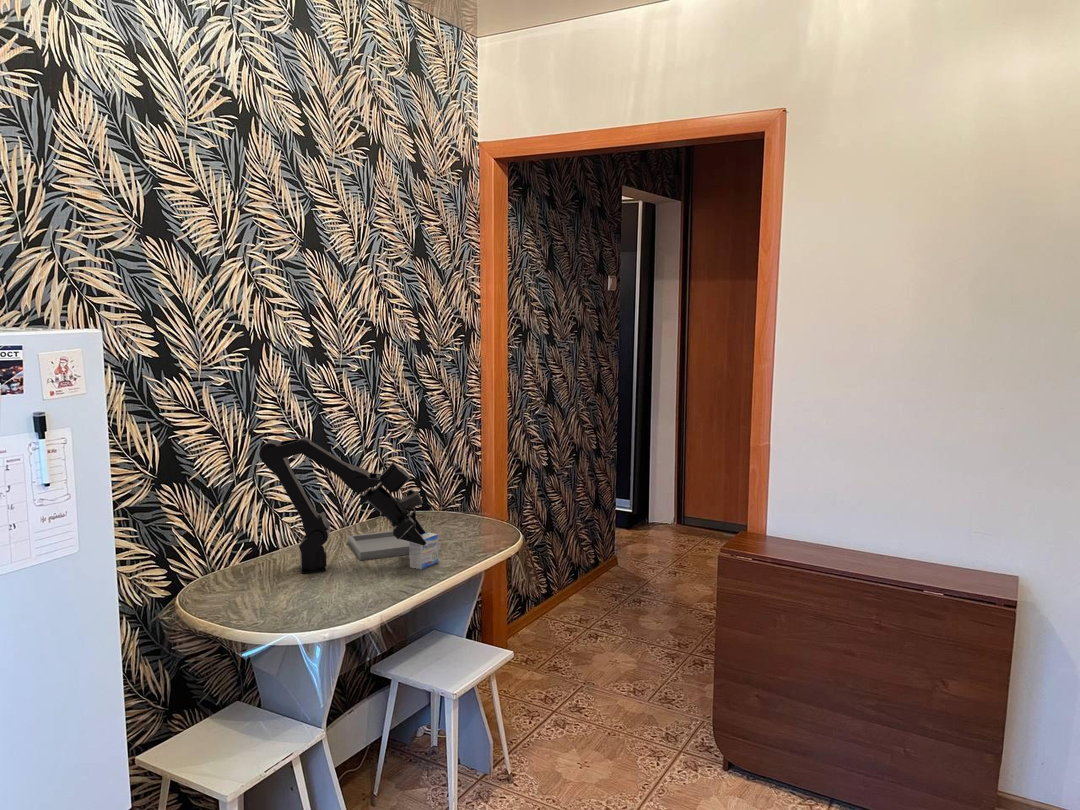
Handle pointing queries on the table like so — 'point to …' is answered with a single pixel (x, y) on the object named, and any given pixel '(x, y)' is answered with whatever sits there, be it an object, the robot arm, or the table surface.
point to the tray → (378, 545)
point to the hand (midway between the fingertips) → (425, 539)
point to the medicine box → (424, 552)
